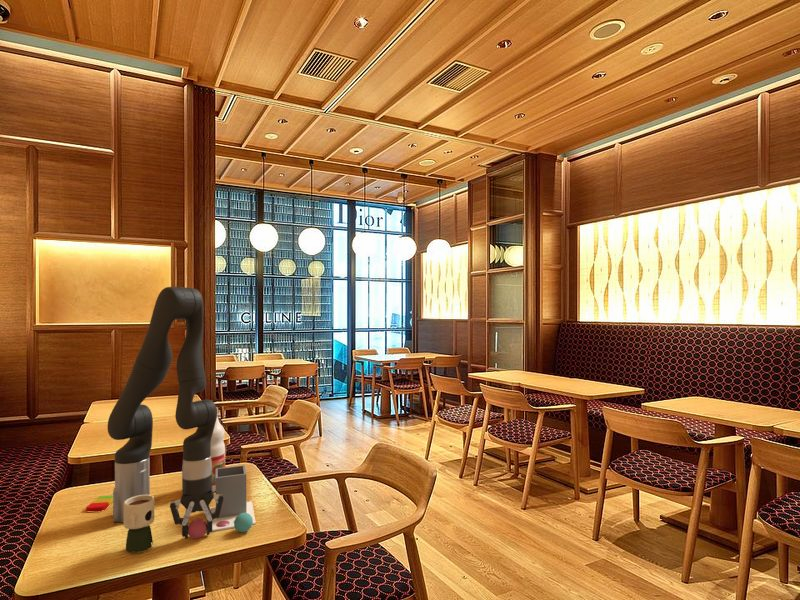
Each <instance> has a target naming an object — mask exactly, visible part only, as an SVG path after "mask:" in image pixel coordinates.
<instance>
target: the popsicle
mask: <svg viewBox="0 0 800 600" xmlns="http://www.w3.org/2000/svg"><path fill="white" fill-rule="evenodd" d="M109 505H110V506H111V505H113V492H111V494H109V495H100V496H98V497H97V498H96V499H94V500H92V502H91V503H89V504H88V505H87V506H86V508H85V512H86V511H100V512H103V511H102V510H104V511H105V510H107V509H106V508H107V507H108V506H109ZM110 506H109V507H110ZM109 507H108V508H109Z"/></svg>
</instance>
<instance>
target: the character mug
mask: <svg viewBox="0 0 800 600" xmlns="http://www.w3.org/2000/svg"><path fill="white" fill-rule="evenodd" d="M154 521H155V496H153V495H151V494H150V495H139V496H135V497H131V498H129V499H127V500H126V501H124V522H123V527H124V528H125V529H127V534H126V541H125V542H126V543H125V552H127V553H143V552H145V551H148V550H149V549H151V548H152V545H154V542H153V541H154V540H153V534H152V529H151V526H150V525H151V524H153V523H154Z"/></svg>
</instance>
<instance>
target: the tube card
mask: <svg viewBox="0 0 800 600" xmlns="http://www.w3.org/2000/svg"><path fill="white" fill-rule="evenodd" d="M220 493H222V494H223V498H224V499H223V503H222V507H221V511H220V515H219V517H218V518H215V519H213V521H212V532H211V533H213V532H218V531H224V530H231V529H235V526H234V521H235V518H236V517H237V516H238V515H239V514H241V513H248V514H250V515H251V517H252V519H253V523H252V526H254V525H256V524H257V523H256V518H255V516H256V515H255V512H254V511H255V510H254V506H253V501H252V500H250V501H247V470H246V465H245V464H242V465H234V466H227V467H226V466H225V468H217V469H216V492H215V494H220ZM216 505H217V503H216V502H215V506H211V507H210V506H209V507H210V510H211V513H214V512H215V509H216Z"/></svg>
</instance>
